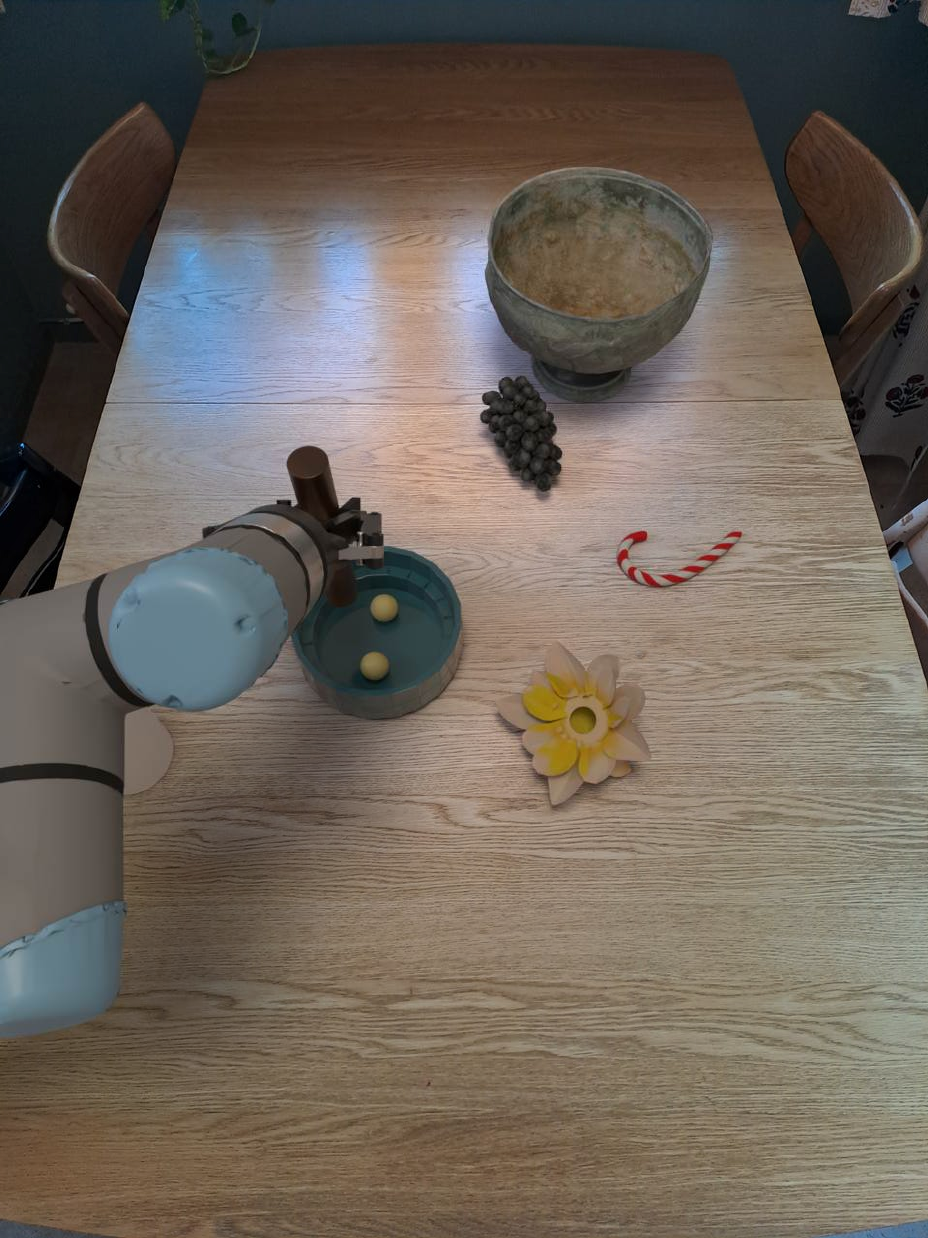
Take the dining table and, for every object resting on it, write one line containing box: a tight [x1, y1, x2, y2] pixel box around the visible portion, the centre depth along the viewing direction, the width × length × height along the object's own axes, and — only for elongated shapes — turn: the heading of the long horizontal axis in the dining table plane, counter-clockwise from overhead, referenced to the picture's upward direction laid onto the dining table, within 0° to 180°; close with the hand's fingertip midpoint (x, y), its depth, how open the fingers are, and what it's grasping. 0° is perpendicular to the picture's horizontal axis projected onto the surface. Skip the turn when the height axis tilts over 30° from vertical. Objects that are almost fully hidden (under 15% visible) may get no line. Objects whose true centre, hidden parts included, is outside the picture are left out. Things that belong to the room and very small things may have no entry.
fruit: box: [479, 375, 564, 493], centre depth 100 cm, size 9×8×15 cm
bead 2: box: [360, 652, 389, 681], centre depth 87 cm, size 3×3×3 cm
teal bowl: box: [289, 545, 463, 719], centre depth 88 cm, size 17×17×6 cm
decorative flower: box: [495, 640, 652, 806], centre depth 82 cm, size 15×11×10 cm
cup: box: [124, 707, 175, 796], centre depth 78 cm, size 8×8×16 cm
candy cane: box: [616, 528, 743, 587], centre depth 96 cm, size 8×1×15 cm
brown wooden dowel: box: [286, 445, 358, 607], centre depth 73 cm, size 3×3×20 cm
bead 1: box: [371, 594, 398, 622], centre depth 91 cm, size 3×3×3 cm
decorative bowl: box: [484, 166, 714, 403], centre depth 102 cm, size 26×26×20 cm
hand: (335, 511), depth 76 cm, fingers closed on brown wooden dowel, 3 cm apart
